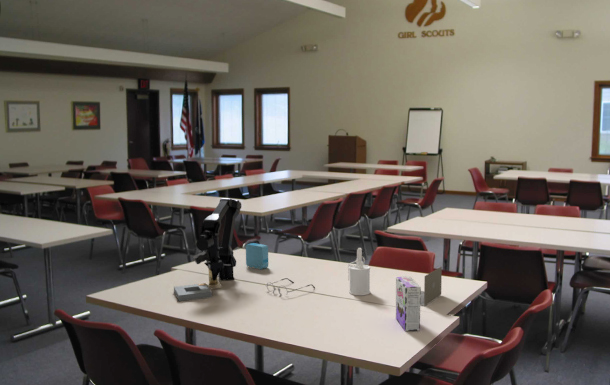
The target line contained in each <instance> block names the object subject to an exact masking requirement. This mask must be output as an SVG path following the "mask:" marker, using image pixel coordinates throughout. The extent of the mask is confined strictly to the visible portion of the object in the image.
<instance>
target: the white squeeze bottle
mask: <svg viewBox="0 0 610 385" xmlns="http://www.w3.org/2000/svg"><path fill="white" fill-rule="evenodd" d="M365 261H366V259H365V258H364V256H363V249H362V247H357V249H356V259H355V260H354V261H352V262H349V263H348V267H347V268H348V272H347V273H348V281H349V290H348V293H349V294H351V295H352V296H361V297H362V296H367V295H369V294H371V290H370V288H371V286H370V283H371V282H370V280H371V279H370V278H371V277H370V276H371V274H370V272H371V271H370V270H371V265H370V266H369V265H368V264H365ZM353 263H356V264H353Z"/></svg>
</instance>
